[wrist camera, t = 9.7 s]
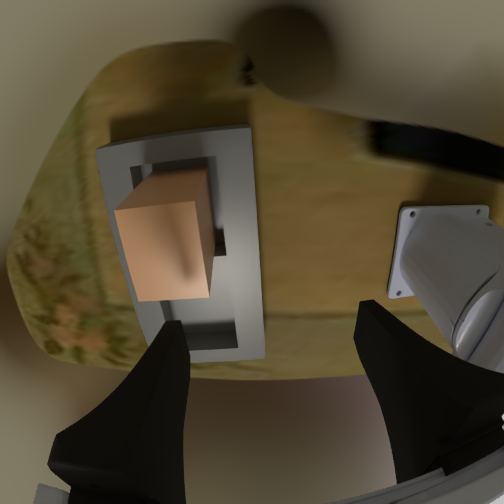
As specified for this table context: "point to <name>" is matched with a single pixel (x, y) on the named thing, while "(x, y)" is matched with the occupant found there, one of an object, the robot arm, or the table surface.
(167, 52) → the table surface
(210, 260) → the tan rectangular block
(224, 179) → the grey slotted tray
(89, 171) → the table surface
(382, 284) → the table surface
